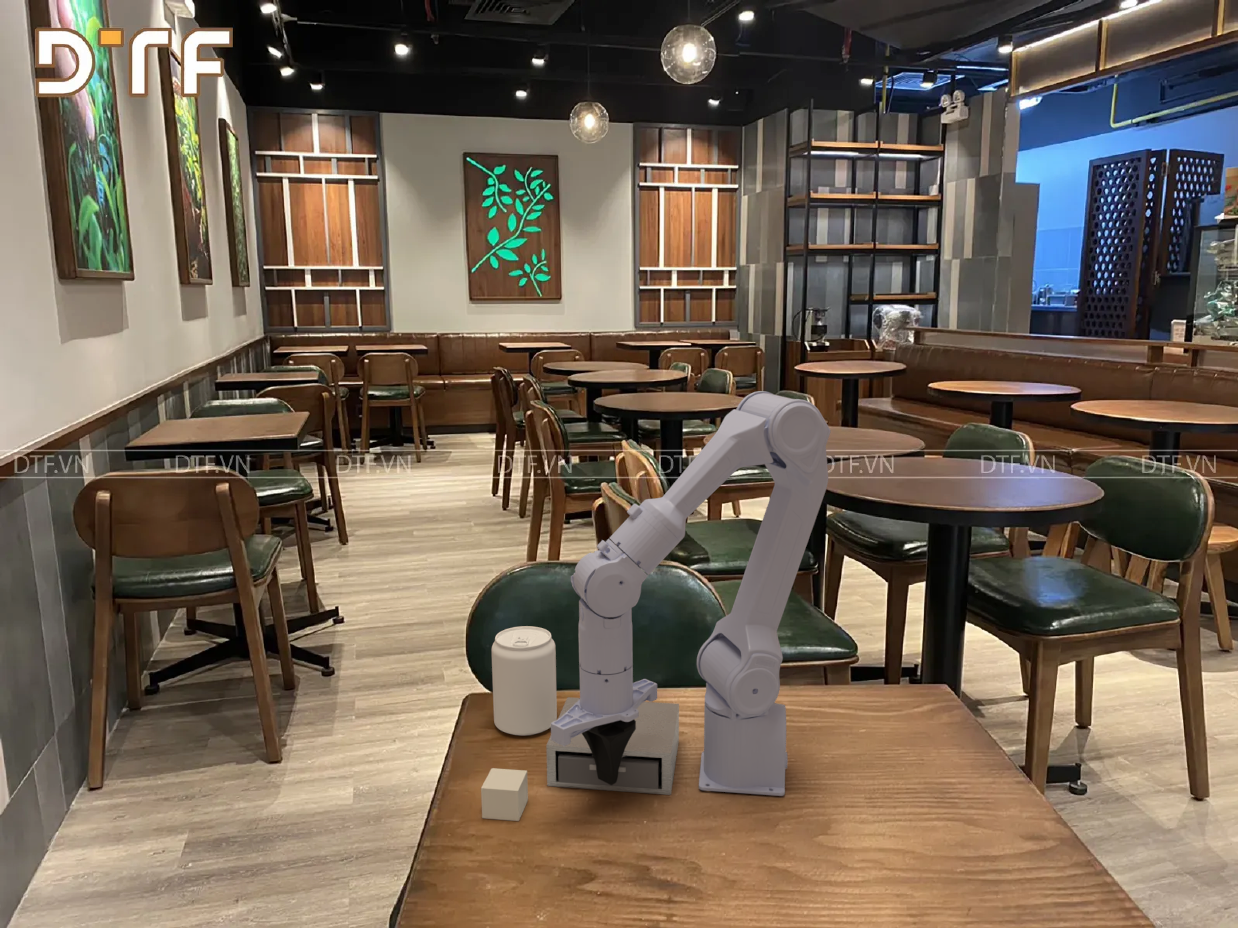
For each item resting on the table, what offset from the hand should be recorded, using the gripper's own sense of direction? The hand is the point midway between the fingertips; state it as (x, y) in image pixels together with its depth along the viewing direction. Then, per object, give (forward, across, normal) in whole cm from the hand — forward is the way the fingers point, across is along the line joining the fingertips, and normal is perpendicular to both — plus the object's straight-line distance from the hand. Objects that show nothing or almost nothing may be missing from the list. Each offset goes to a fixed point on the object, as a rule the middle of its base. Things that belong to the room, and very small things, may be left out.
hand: (607, 780), depth 96 cm
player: (+2, +6, +5) cm, 8 cm away
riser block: (+2, -9, +7) cm, 11 cm away
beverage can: (+2, +5, +20) cm, 21 cm away
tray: (+1, +5, +4) cm, 7 cm away
